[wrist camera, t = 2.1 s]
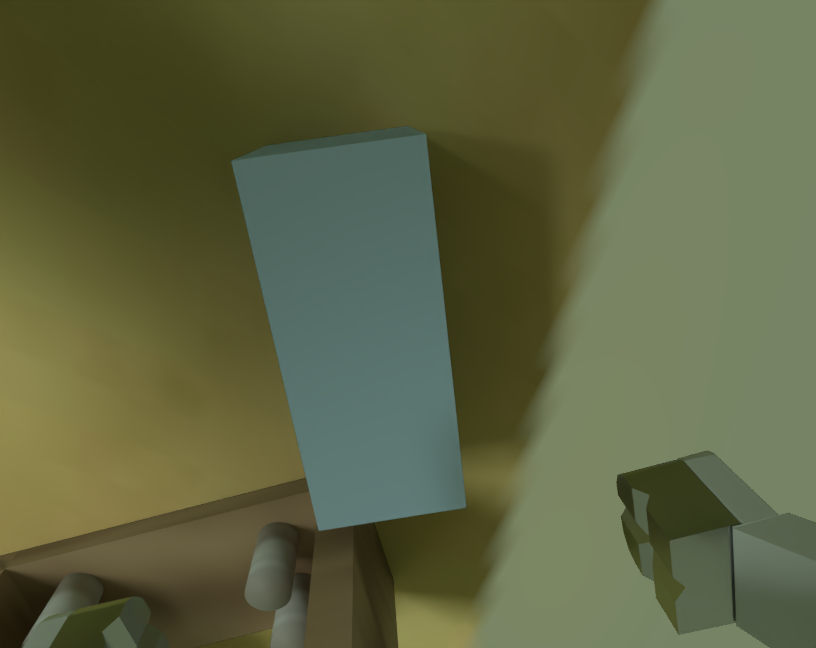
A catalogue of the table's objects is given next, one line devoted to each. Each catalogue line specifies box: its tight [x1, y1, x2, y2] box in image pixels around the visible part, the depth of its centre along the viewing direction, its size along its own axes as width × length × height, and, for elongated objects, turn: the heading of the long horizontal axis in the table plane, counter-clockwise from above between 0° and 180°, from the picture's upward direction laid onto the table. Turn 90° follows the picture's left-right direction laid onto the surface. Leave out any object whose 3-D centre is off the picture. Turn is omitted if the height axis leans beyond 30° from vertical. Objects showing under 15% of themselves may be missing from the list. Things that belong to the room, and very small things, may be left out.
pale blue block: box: [231, 126, 466, 531], centre depth 19 cm, size 12×5×6 cm, turn 7°
